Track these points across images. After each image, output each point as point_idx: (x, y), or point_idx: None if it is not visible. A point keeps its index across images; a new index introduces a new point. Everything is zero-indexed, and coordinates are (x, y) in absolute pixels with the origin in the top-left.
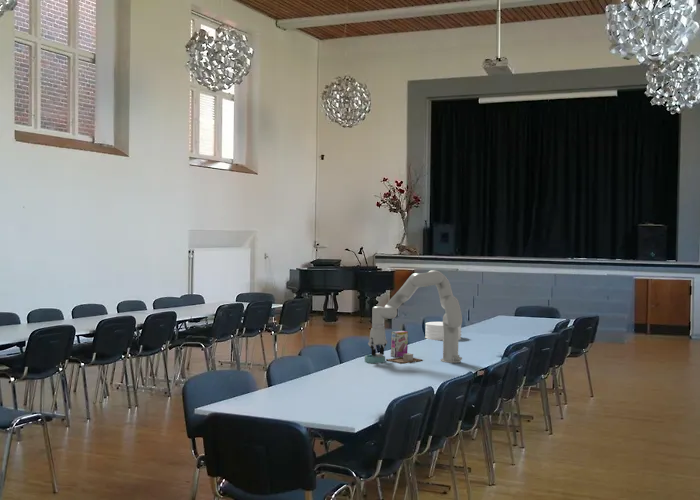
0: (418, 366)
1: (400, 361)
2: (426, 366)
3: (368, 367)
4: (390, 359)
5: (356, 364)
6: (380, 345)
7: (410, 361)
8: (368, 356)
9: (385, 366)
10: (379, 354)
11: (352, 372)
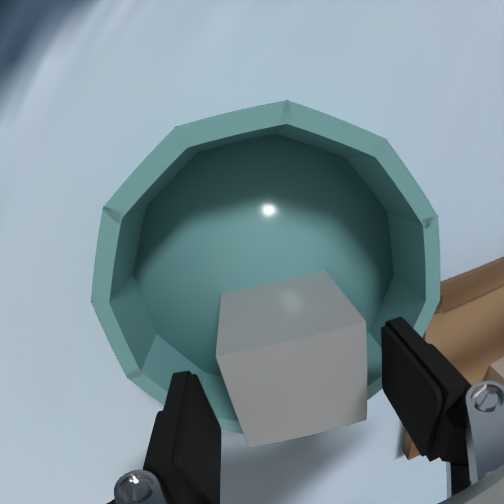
0: (412, 494)
1: (470, 374)
2: (439, 489)
3: (88, 470)
4: (462, 299)
5: (10, 344)
6: (469, 458)
7: None
8: (221, 141)
9: (227, 491)
10: (294, 438)
11: (10, 484)
